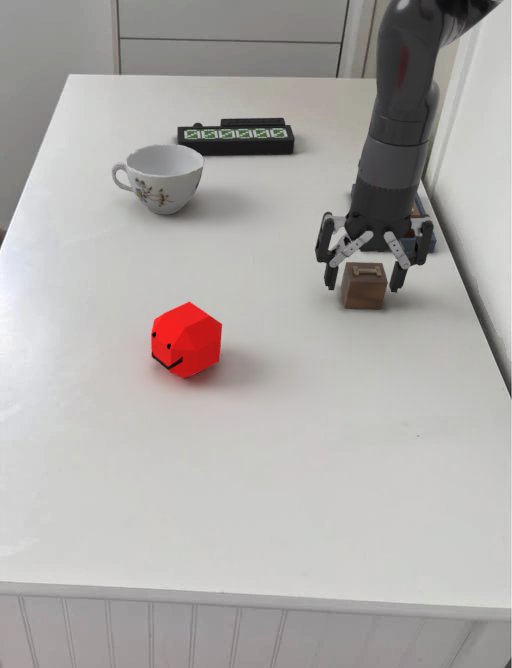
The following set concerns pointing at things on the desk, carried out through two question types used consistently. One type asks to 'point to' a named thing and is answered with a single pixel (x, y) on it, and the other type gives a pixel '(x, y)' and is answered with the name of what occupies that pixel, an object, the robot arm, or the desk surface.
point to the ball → (186, 340)
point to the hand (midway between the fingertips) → (361, 288)
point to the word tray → (410, 242)
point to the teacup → (162, 176)
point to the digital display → (239, 137)
